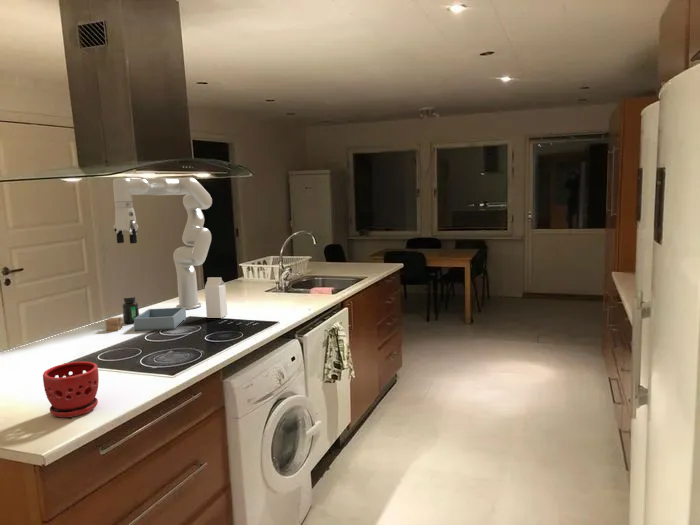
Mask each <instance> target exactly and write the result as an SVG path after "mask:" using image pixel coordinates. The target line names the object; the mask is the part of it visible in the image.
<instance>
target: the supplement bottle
mask: <svg viewBox="0 0 700 525" xmlns="http://www.w3.org/2000/svg"><path fill="white" fill-rule="evenodd" d="M123 302H124V303H123V304H122V306H121V308H122V317H123V320H122V321H123V324H125V325H134V324H133V323H134V318H136V317H137V316H139V315H140V312H139V310H140V309H139V303H138V302H137V301H136V296H134V295H133V296H130V295H129V296H125V297H123Z"/></svg>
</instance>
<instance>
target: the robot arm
mask: <svg viewBox="0 0 700 525" xmlns="http://www.w3.org/2000/svg"><path fill="white" fill-rule="evenodd" d="M157 178H158V179H152V178H143V179H132V178H121V177H120V178H119V177H118V178H114V179H113V181H112V187H113V188H112V189H113V198H114V208H115V209H114V210H115V212H114V224H113V225H112V227H113V229H114V232H115V235H116V242H117V244H124V243H125V238H124V236H125V235H124V233H123V232H124V231H126V232H127V231H128V232H129V236H128V237H129V243H130V244H137V243H138V242H137V241H138V240H137V235H138V230H139V224H138V223H137V217H136V213H135V209H134V203H133V196H136V195H137V196H138V195H139V196H140V195H141V196H145V195H147V196H149V195H150V196H182V195H183V197H182V204H183V206H184V208H185V210H186V212H187V221H186V224H185V227H184V230H183V232H182V233H183V234H182V236H181V239H182V242H183V244H185V245H186V246H180V247H178V248H176V249H175V250H174V251H173V262H174V266H175V270H176V271H175V272H176V280H177V293H178V295H177V296H178V304H177V305H176V306H175V308H182V307H185V309H186V310H190V309H198V308H200V306H201V305H202V303H201V302H199V294H198V283H197V280H198V279H197V272H196V269H195V267H194V266H196V267H197V266H201V265H203V264H204V263H205V261H206V258H207V256H208V253H209V251H210V250H209V249H210V246H211V243H212V233H211V231H210V230H209V228H206V227H204V224H205V215H204V213H203V211H202V210H208V209H209V208H210V207H212V204H213V198H212V197H211V194H210V193H209V192H208V191H207V190H206V189H205V188H204V186H203V185H202V184H201V183H200V182H199V181H198V180H197V179H195V178H194V177H191V176H188V177H157ZM197 307H198V308H197ZM201 307H202V306H201Z"/></svg>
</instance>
